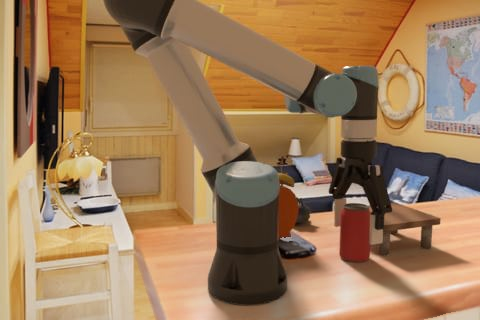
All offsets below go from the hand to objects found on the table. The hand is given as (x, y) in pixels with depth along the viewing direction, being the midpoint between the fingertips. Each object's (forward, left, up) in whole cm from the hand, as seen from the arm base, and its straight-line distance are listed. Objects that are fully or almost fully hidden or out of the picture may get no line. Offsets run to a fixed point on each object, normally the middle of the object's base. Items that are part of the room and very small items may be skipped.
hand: (357, 234), depth 102 cm
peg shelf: (+14, +6, -6) cm, 16 cm away
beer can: (0, 0, -6) cm, 6 cm away
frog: (0, +30, -6) cm, 31 cm away
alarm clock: (-13, +17, -6) cm, 22 cm away
